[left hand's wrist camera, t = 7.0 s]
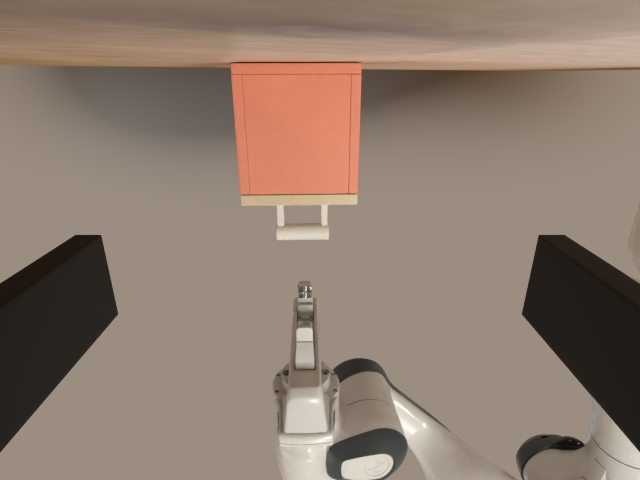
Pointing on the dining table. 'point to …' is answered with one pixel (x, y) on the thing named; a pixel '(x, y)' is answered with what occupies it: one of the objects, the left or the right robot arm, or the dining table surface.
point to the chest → (297, 127)
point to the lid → (280, 200)
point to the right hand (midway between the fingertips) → (304, 301)
